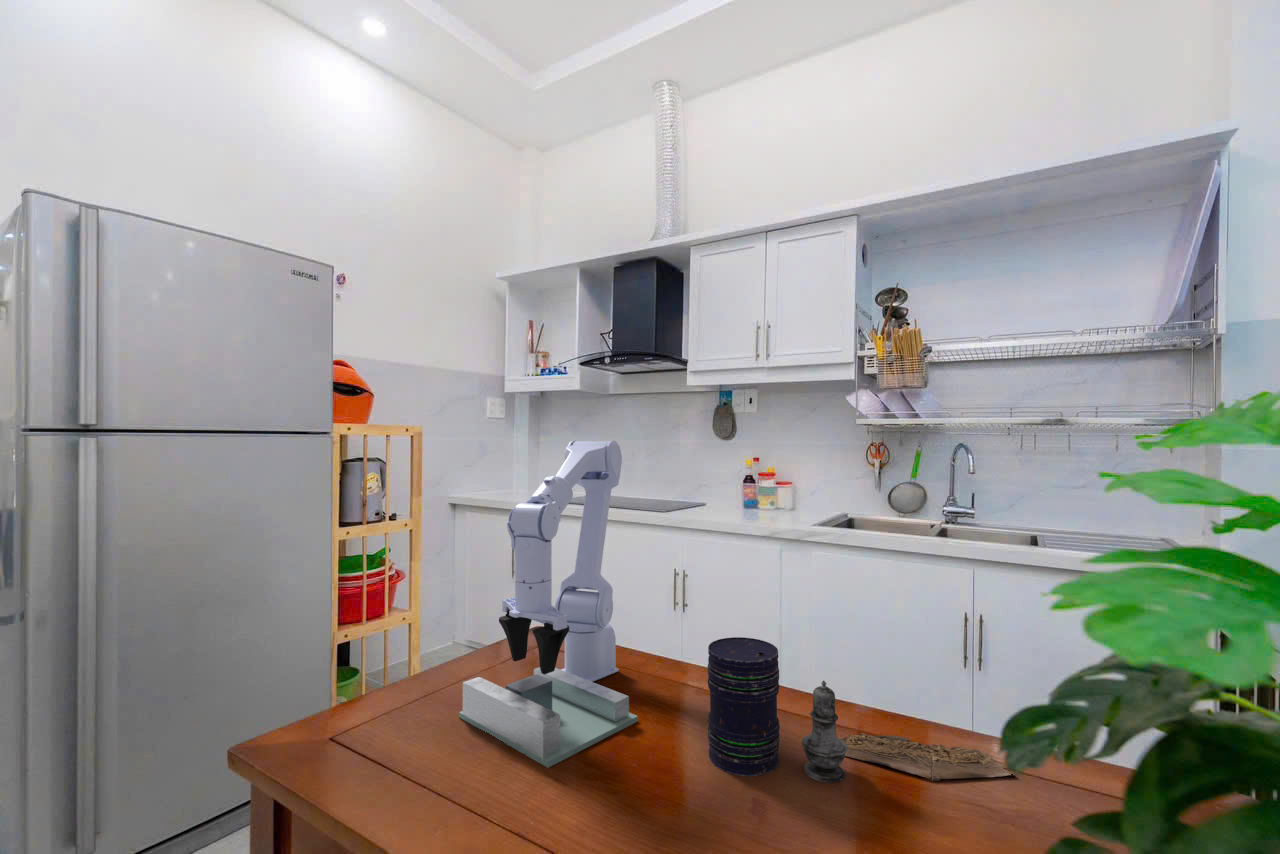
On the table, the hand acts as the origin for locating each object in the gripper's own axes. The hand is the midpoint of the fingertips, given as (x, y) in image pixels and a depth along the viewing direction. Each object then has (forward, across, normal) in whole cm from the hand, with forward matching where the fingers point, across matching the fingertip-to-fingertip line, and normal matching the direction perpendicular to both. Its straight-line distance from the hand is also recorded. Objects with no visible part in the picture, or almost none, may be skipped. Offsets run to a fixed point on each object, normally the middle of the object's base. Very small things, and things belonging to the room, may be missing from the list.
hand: (533, 665), depth 95 cm
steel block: (+8, 0, -1) cm, 8 cm away
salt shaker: (+9, +40, +18) cm, 45 cm away
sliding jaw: (+8, +1, +8) cm, 11 cm away
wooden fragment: (+9, +47, +29) cm, 56 cm away
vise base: (+8, +2, +2) cm, 9 cm away
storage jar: (+9, +30, +14) cm, 34 cm away
